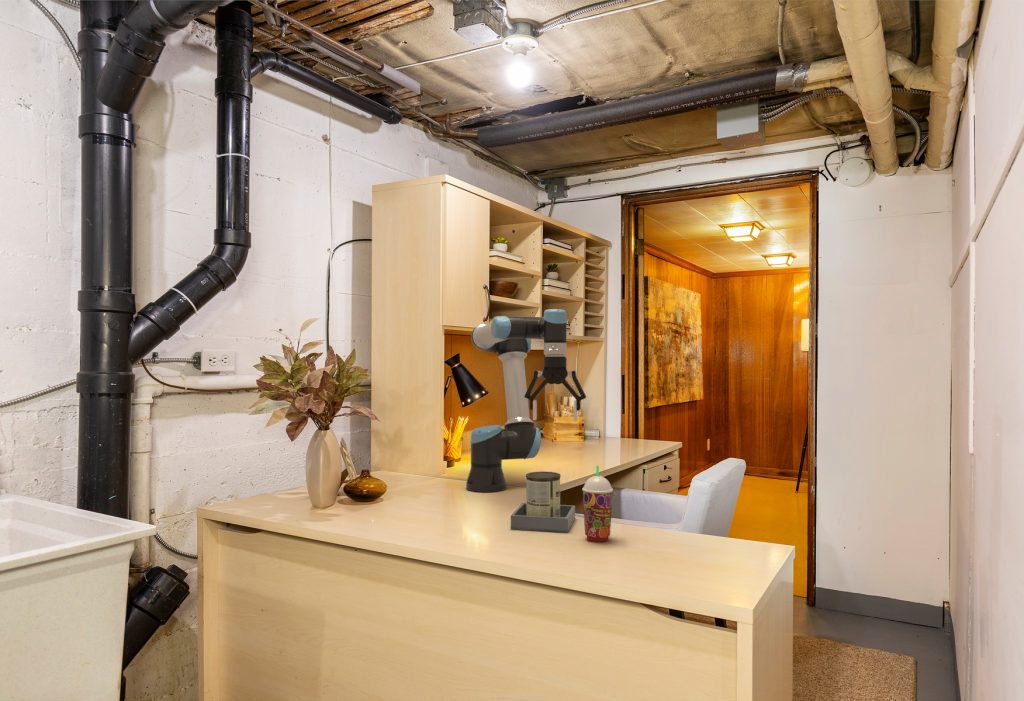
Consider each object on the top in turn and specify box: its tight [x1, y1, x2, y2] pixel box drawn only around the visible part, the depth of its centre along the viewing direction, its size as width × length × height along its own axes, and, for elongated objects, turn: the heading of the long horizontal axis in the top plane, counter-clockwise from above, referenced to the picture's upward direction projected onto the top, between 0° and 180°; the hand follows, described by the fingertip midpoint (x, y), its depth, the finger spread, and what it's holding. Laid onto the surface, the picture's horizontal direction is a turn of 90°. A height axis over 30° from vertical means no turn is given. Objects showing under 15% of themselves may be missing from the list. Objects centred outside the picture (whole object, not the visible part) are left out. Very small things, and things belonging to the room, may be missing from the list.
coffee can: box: [525, 471, 561, 518], centre depth 195 cm, size 10×10×14 cm
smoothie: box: [581, 465, 614, 543], centre depth 179 cm, size 8×8×20 cm
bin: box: [510, 502, 576, 534], centre depth 195 cm, size 17×17×4 cm
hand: (555, 420), depth 217 cm, fingers open, 13 cm apart
